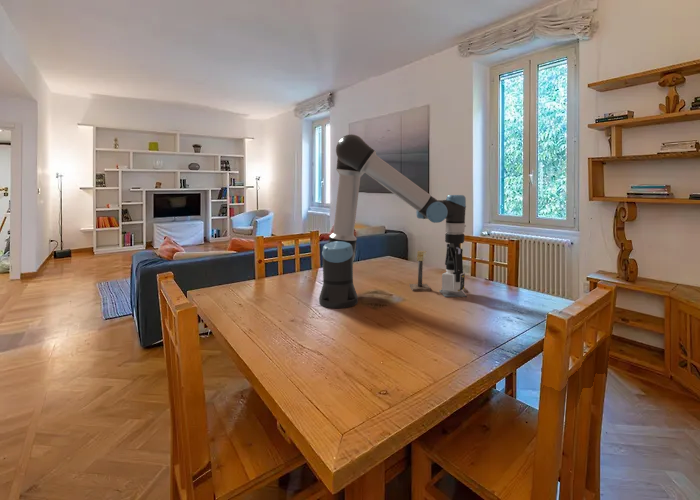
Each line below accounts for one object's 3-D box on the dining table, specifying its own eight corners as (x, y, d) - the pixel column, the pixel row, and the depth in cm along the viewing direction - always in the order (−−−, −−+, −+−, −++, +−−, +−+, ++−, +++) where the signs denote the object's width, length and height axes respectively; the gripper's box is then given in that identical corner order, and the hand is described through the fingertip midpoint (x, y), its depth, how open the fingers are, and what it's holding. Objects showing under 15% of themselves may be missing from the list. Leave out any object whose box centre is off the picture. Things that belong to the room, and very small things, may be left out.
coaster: (445, 297, 156) (445, 295, 156) (439, 290, 165) (439, 289, 164) (466, 296, 156) (466, 295, 156) (460, 290, 165) (460, 289, 165)
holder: (413, 293, 162) (414, 264, 160) (408, 284, 176) (408, 257, 173) (467, 292, 162) (468, 263, 160) (457, 283, 176) (458, 257, 174)
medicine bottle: (458, 292, 155) (458, 263, 153) (441, 290, 159) (442, 261, 157) (464, 289, 160) (465, 261, 159) (448, 287, 164) (448, 259, 163)
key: (422, 262, 163) (422, 253, 162) (416, 261, 164) (416, 252, 163) (426, 255, 176) (426, 247, 176) (420, 255, 177) (421, 247, 177)
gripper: (473, 236, 145) (470, 293, 149) (455, 229, 167) (453, 279, 171) (453, 237, 145) (451, 293, 149) (438, 229, 167) (437, 279, 171)
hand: (452, 285), depth 160 cm, fingers closed on medicine bottle, 10 cm apart
